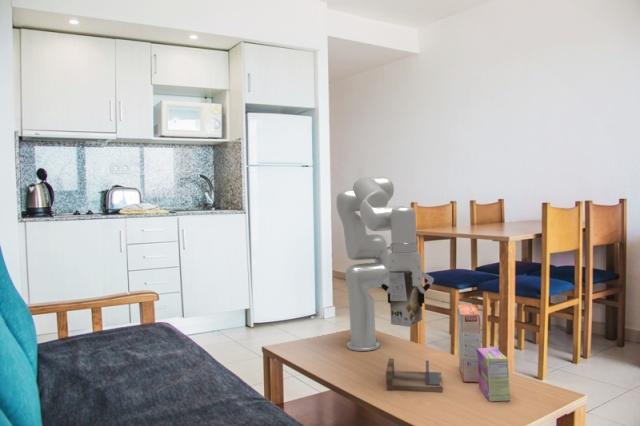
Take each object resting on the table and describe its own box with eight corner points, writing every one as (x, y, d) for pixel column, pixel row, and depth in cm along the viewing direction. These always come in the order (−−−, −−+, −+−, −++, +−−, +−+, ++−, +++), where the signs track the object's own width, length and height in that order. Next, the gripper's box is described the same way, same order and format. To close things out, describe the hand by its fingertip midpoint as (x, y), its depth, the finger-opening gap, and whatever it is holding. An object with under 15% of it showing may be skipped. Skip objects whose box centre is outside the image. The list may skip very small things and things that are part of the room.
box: (478, 387, 148) (476, 347, 148) (497, 386, 148) (496, 347, 147) (488, 402, 138) (487, 359, 137) (510, 401, 137) (508, 358, 137)
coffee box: (410, 327, 147) (408, 272, 147) (390, 324, 151) (388, 271, 150) (423, 320, 155) (421, 268, 154) (404, 317, 158) (402, 267, 158)
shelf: (389, 375, 161) (389, 358, 160) (441, 377, 157) (440, 359, 157) (386, 390, 149) (386, 371, 149) (442, 392, 146) (441, 373, 145)
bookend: (426, 373, 157) (425, 360, 157) (438, 373, 156) (438, 360, 156) (426, 385, 147) (426, 371, 147) (439, 385, 147) (439, 372, 146)
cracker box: (483, 383, 151) (480, 314, 150) (462, 382, 152) (459, 313, 151) (478, 367, 165) (476, 303, 164) (459, 366, 166) (456, 303, 165)
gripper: (374, 250, 150) (376, 308, 151) (433, 249, 147) (436, 308, 147) (376, 247, 158) (378, 302, 158) (433, 246, 154) (435, 303, 155)
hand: (406, 305), depth 153 cm, fingers closed on coffee box, 8 cm apart
